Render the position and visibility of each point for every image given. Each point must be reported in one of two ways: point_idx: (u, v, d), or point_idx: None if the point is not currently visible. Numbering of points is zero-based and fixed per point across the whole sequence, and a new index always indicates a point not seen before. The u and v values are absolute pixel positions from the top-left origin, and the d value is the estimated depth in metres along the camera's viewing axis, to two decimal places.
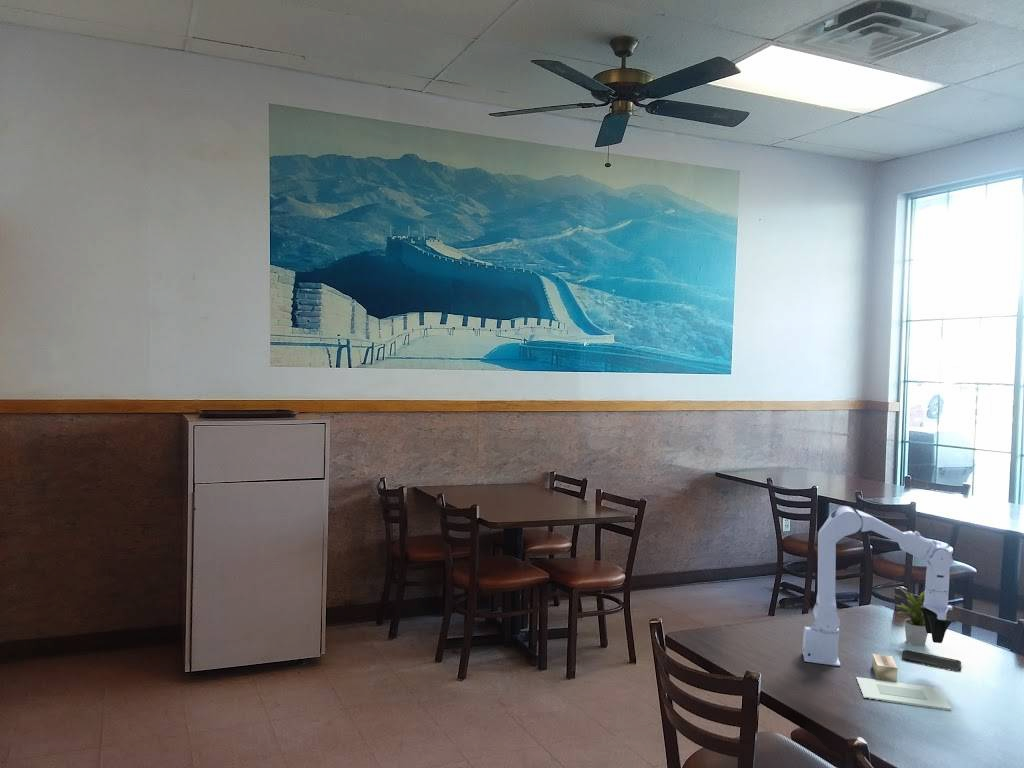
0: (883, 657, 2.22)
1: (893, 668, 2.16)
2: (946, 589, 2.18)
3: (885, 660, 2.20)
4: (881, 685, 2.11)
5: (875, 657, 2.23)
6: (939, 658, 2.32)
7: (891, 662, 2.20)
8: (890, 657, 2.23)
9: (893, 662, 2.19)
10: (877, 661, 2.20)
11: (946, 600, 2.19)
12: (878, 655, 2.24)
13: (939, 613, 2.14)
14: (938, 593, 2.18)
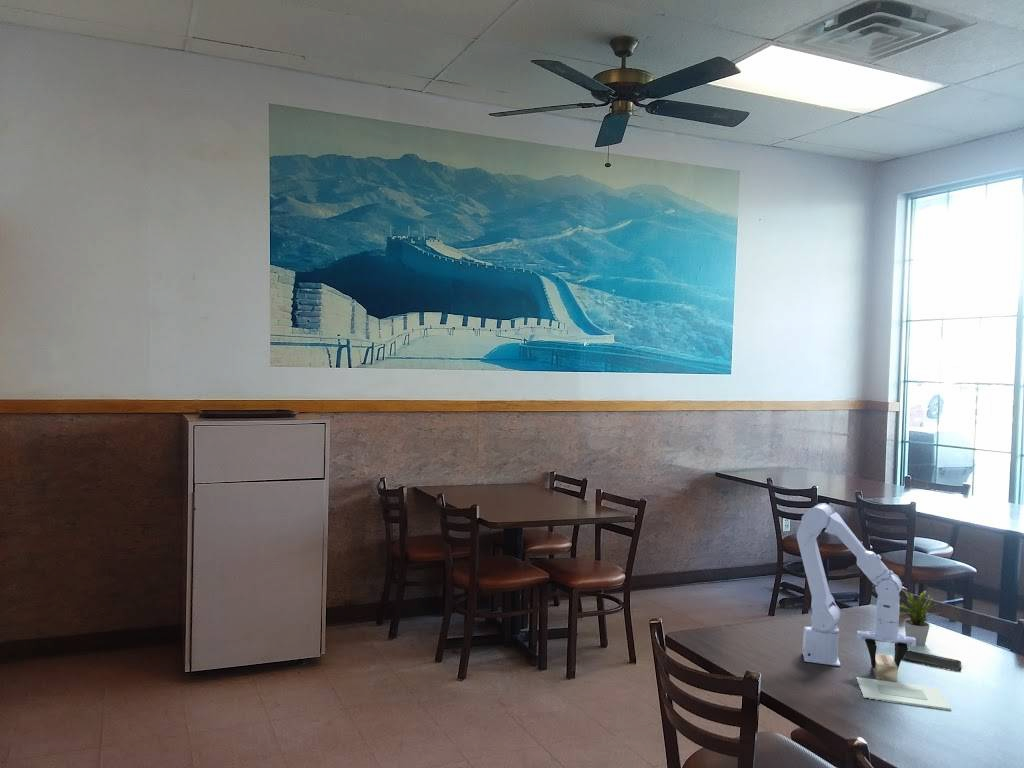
0: (883, 656, 2.22)
1: (893, 667, 2.16)
2: (893, 620, 2.17)
3: (885, 659, 2.20)
4: (881, 685, 2.11)
5: (875, 656, 2.22)
6: (939, 658, 2.32)
7: (892, 661, 2.20)
8: (890, 656, 2.23)
9: (893, 661, 2.19)
10: (877, 660, 2.20)
11: (880, 629, 2.18)
12: (878, 654, 2.24)
13: (857, 631, 2.23)
14: None
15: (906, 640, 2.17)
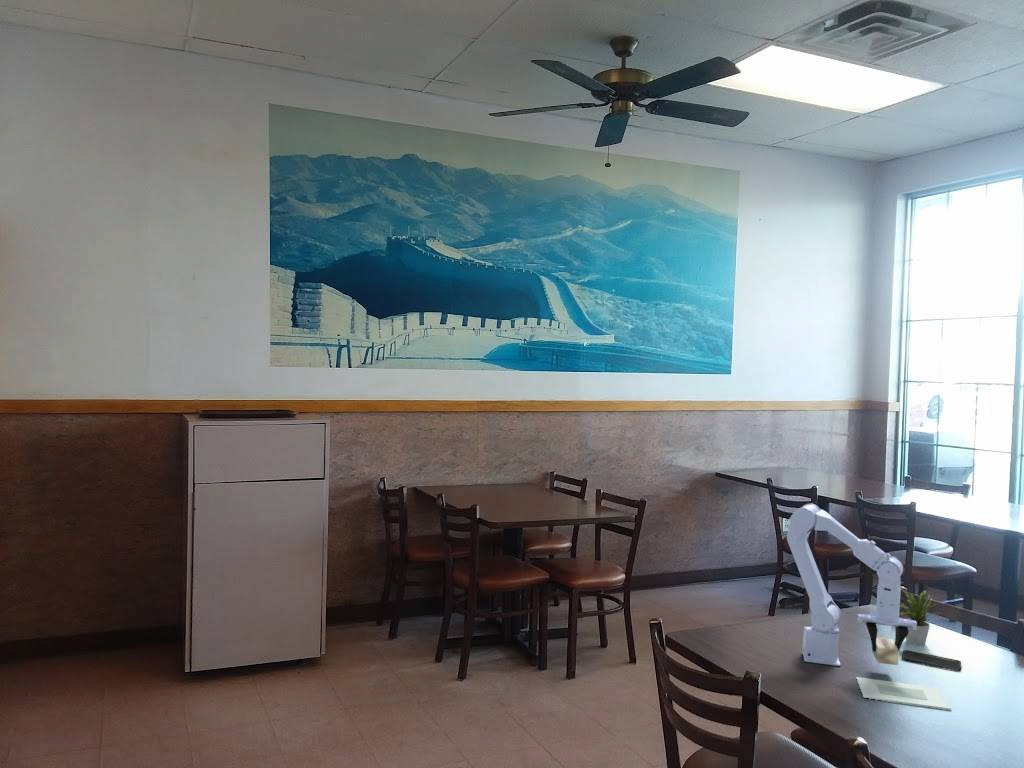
0: (884, 640, 2.22)
1: (894, 651, 2.16)
2: (894, 603, 2.17)
3: (886, 643, 2.20)
4: (881, 685, 2.11)
5: (876, 640, 2.22)
6: (939, 658, 2.32)
7: (892, 644, 2.19)
8: (890, 640, 2.23)
9: (894, 645, 2.19)
10: (878, 644, 2.19)
11: (881, 612, 2.18)
12: (878, 638, 2.24)
13: (858, 615, 2.23)
14: None
15: (907, 623, 2.17)
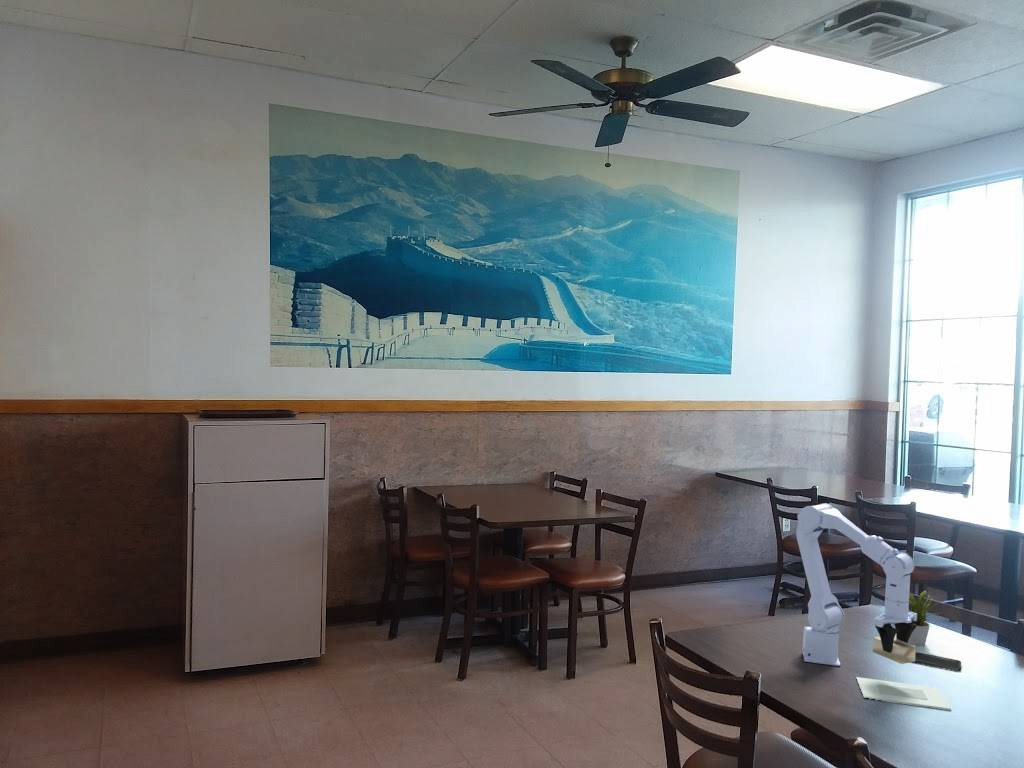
0: None
1: (912, 648, 2.11)
2: (900, 600, 2.11)
3: (895, 641, 2.14)
4: (881, 685, 2.11)
5: None
6: (939, 658, 2.32)
7: (900, 641, 2.15)
8: None
9: (901, 641, 2.15)
10: (893, 644, 2.12)
11: (898, 611, 2.11)
12: None
13: (875, 619, 2.11)
14: (889, 602, 2.12)
15: (912, 616, 2.15)
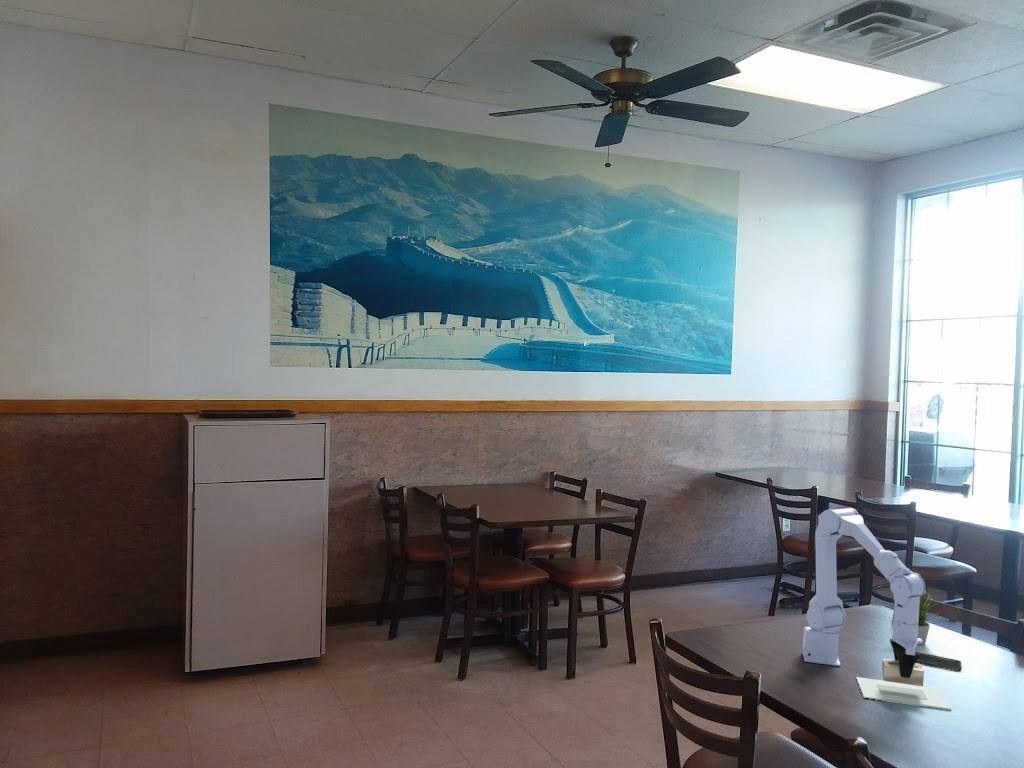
0: (894, 663, 2.08)
1: (921, 666, 2.07)
2: (907, 621, 2.04)
3: None
4: (881, 685, 2.11)
5: (897, 666, 2.06)
6: (939, 658, 2.32)
7: None
8: (888, 660, 2.10)
9: None
10: None
11: (915, 633, 2.04)
12: (888, 664, 2.07)
13: (907, 648, 2.00)
14: (907, 626, 2.04)
15: None
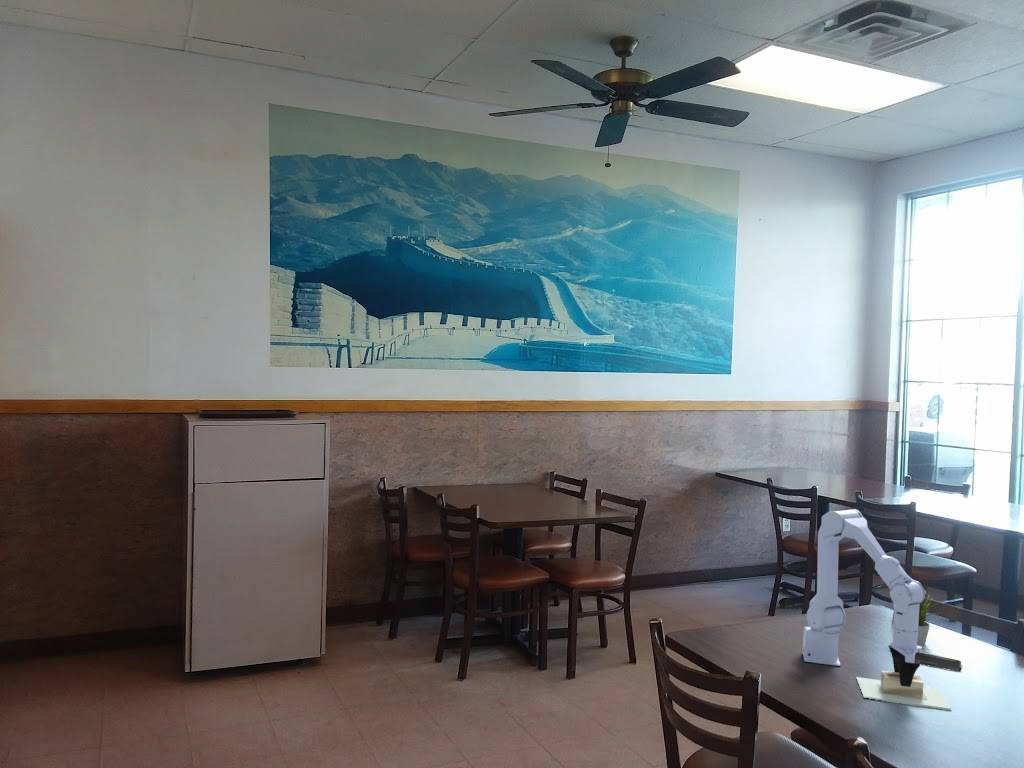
0: (893, 674, 2.08)
1: (920, 678, 2.07)
2: (906, 629, 2.04)
3: None
4: None
5: (897, 678, 2.06)
6: (939, 658, 2.32)
7: None
8: (887, 671, 2.10)
9: None
10: None
11: (915, 641, 2.05)
12: (888, 676, 2.07)
13: (907, 655, 2.00)
14: (906, 633, 2.04)
15: None
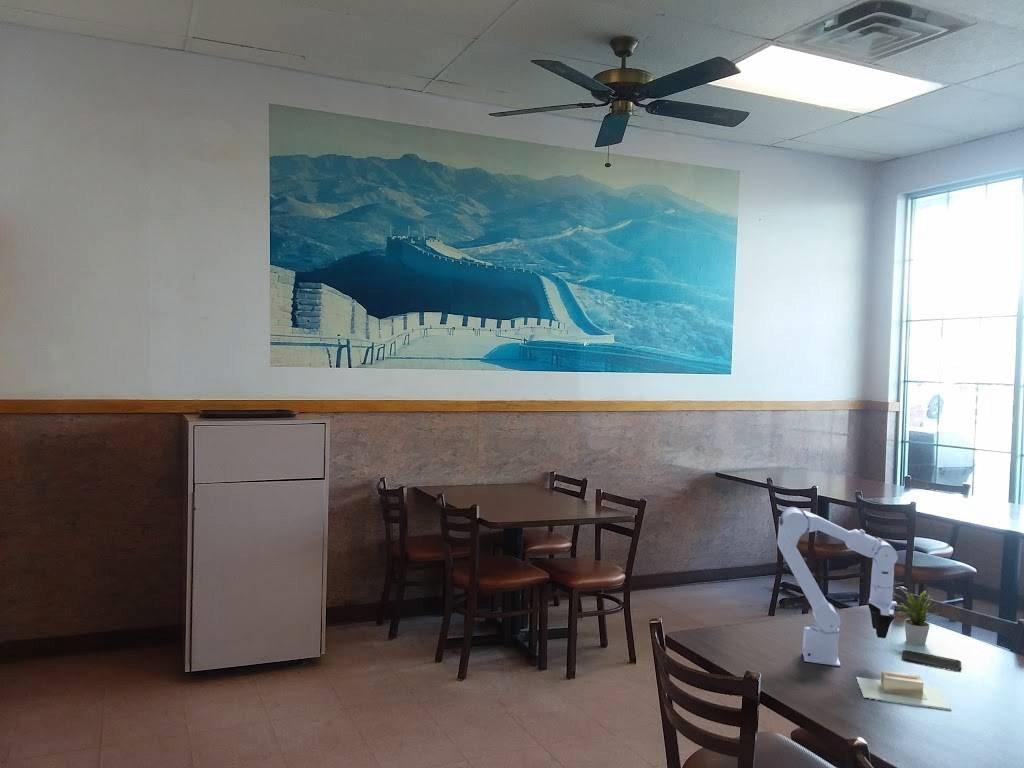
0: (893, 674, 2.08)
1: (920, 678, 2.07)
2: (891, 585, 2.23)
3: (902, 675, 2.07)
4: None
5: (897, 678, 2.06)
6: (939, 658, 2.32)
7: (902, 674, 2.09)
8: (887, 671, 2.10)
9: (902, 673, 2.09)
10: (910, 680, 2.05)
11: (890, 596, 2.23)
12: (888, 676, 2.07)
13: (882, 609, 2.19)
14: (882, 589, 2.23)
15: None
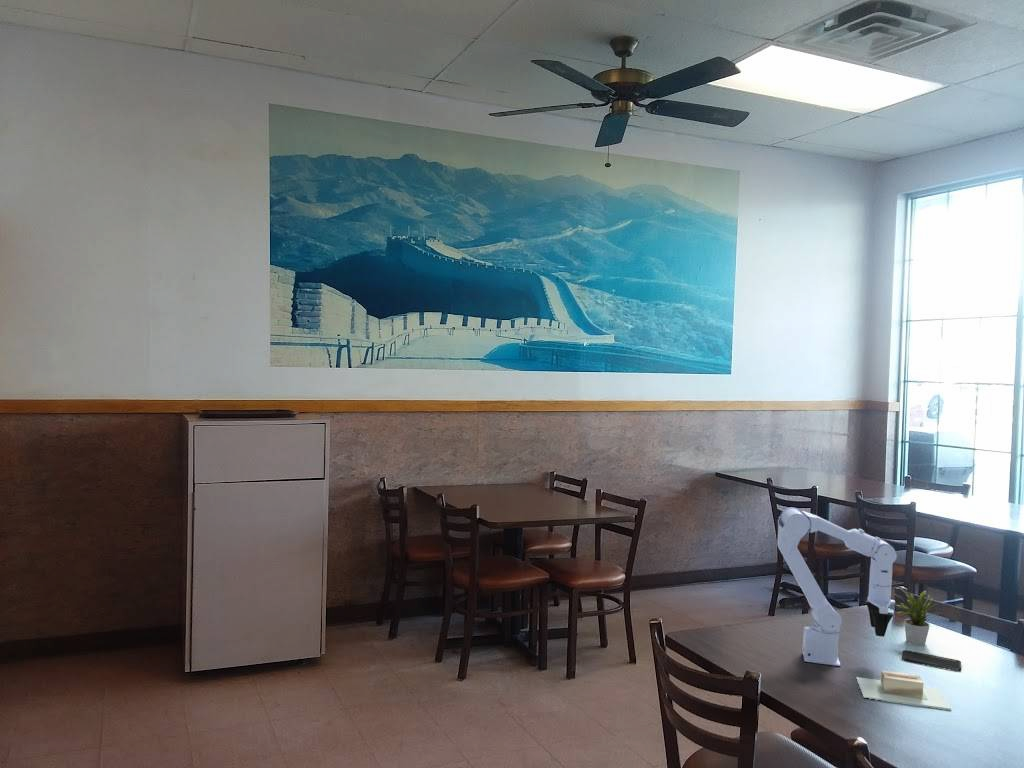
0: (893, 674, 2.08)
1: (920, 678, 2.07)
2: (889, 584, 2.24)
3: (902, 675, 2.07)
4: None
5: (897, 678, 2.06)
6: (939, 658, 2.32)
7: (902, 674, 2.09)
8: (887, 671, 2.10)
9: (902, 673, 2.09)
10: (910, 680, 2.05)
11: (889, 594, 2.24)
12: (888, 676, 2.07)
13: (881, 607, 2.20)
14: (881, 588, 2.24)
15: None
